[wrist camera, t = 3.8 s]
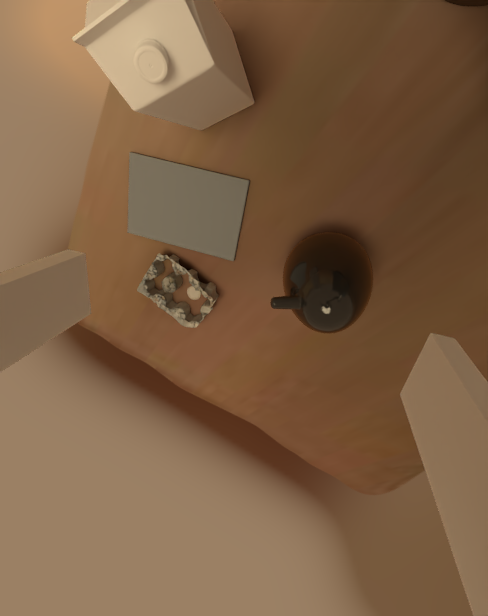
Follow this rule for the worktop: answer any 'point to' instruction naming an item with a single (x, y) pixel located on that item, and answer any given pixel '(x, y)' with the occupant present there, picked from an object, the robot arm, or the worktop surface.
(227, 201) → the mat
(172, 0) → the milk carton
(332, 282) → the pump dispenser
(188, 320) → the egg carton
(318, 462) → the worktop surface
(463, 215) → the worktop surface
